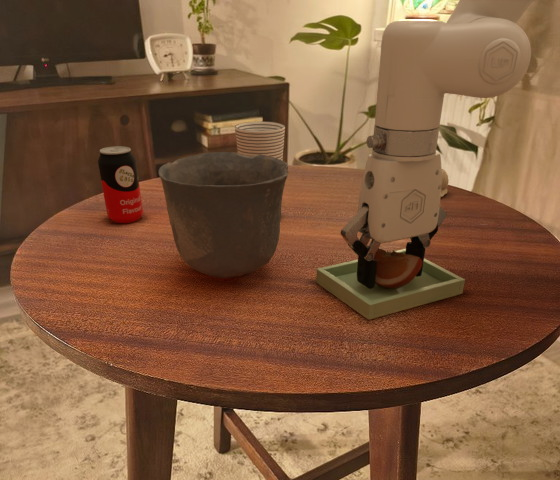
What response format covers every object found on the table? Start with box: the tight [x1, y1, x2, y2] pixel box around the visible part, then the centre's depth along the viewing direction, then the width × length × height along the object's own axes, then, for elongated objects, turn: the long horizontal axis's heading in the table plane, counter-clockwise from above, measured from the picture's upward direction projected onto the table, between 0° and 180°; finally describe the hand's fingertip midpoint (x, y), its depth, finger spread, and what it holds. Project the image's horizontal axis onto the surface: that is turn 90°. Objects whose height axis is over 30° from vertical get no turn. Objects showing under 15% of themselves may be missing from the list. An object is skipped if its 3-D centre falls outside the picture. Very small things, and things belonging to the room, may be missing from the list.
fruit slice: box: [366, 245, 423, 289], centre depth 76 cm, size 8×7×5 cm
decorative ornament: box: [441, 168, 449, 198], centre depth 112 cm, size 4×8×5 cm, turn 109°
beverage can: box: [97, 145, 144, 224], centre depth 99 cm, size 6×6×12 cm
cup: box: [234, 120, 286, 161], centre depth 98 cm, size 8×8×16 cm
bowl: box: [158, 151, 290, 279], centre depth 78 cm, size 18×18×15 cm
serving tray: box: [315, 248, 466, 321], centre depth 77 cm, size 16×13×2 cm
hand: (389, 277), depth 77 cm, fingers closed on fruit slice, 7 cm apart
